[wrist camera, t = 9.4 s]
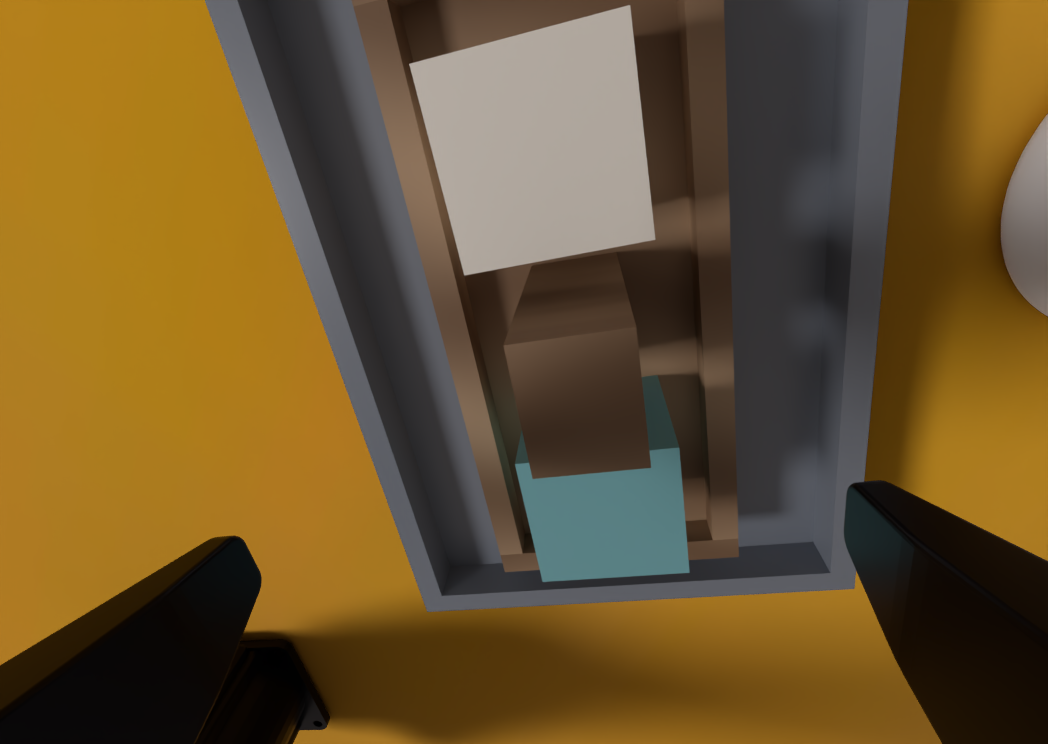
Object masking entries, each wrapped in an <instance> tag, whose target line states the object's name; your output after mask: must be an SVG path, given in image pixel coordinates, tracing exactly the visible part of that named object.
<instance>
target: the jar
mask: <svg viewBox="0 0 1048 744" xmlns="http://www.w3.org/2000/svg"><path fill="white" fill-rule="evenodd" d="M1001 247H1002V252H1003V257H1004V261H1005V265H1006V268H1007V270H1008V273H1009V275H1010V277H1011V279H1012V281H1013V283H1014V284H1015V286H1016V288H1017V289H1018V290H1019V292H1020V293H1021V294H1022V296H1023V297H1024V298H1025V299H1026V300H1027V301H1028V302H1029V303H1030V304H1031V305H1032V306H1034V307H1035V308H1036V309H1037V310H1039V311H1040V312H1041V313H1043V314H1045V315H1046V316H1048V114H1047V115H1046V117H1045V118H1044V119H1043V121H1042V122H1041V123H1040V125H1039V126H1038V128H1037V129H1036V131H1035V132H1034V134H1033V135H1032V137H1031V139H1030V140H1029V142H1028V144H1027V145H1026V147H1025V149H1024V150H1023V152H1022V154H1021V156H1020V158H1019V160H1018V163H1017V165H1016V167H1015V170H1014V172H1013V174H1012V177H1011V179H1010V182H1009V185H1008V188H1007V192H1006V196H1005V200H1004V205H1003V210H1002V216H1001Z"/></svg>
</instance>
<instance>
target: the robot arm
mask: <svg viewBox="0 0 1048 744" xmlns="http://www.w3.org/2000/svg"><path fill="white" fill-rule="evenodd" d="M844 540H845V544H846V547H847V550H848V553H849V555H850V557H851V560H852V562H853V564H854V566H855V569H856V571H857V573H858V576H859V578H860V580H861V582H862V585H863V587H864V589H865V592H866V594H867V596H868V598H869V601H870V603H871V605H872V608H873V610H874V612H875V615H876V617H877V619H878V621H879V624H880V626H881V628H882V631H883V633H884V635H885V637H886V640H887V642H888V644H889V646H890V649H891V651H892V653H893V655H894V657H895V659H896V661H897V663H898V665H899V667H900V669H901V671H902V673H903V675H904V677H905V678H906V680H907V682H908V684H909V686H910V688H911V689H912V691H913V693H914V695H915V696H916V698H917V700H918V702H919V703H920V705H921V707H922V709H923V711H924V712H925V714H926V716H927V718H928V719H929V721H930V723H931V725H932V726H933V728H934V730H935V732H936V733H937V735H938V737H939V739H940V741H941V742H942V744H1048V561H1046V560H1044V559H1042V558H1040V557H1038V556H1036V555H1034V554H1032V553H1030V552H1028V551H1026V550H1024V549H1022V548H1020V547H1018V546H1016V545H1014V544H1012V543H1010V542H1008V541H1006V540H1004V539H1002V538H1000V537H998V536H996V535H994V534H992V533H990V532H988V531H986V530H984V529H982V528H980V527H978V526H976V525H974V524H972V523H970V522H968V521H966V520H964V519H962V518H960V517H958V516H956V515H954V514H952V513H950V512H948V511H946V510H944V509H942V508H940V507H937V506H935V505H933V504H931V503H929V502H927V501H925V500H923V499H921V498H919V497H917V496H915V495H913V494H911V493H909V492H907V491H905V490H903V489H901V488H899V487H897V486H895V485H893V484H891V483H889V482H886V481H867V482H856V483H853V484H851V485H850V486H849V487H848V489H847V494H846V506H845V519H844ZM260 588H261V573H260V571H259V569H258V567H257V565H256V563H255V561H254V559H253V557H252V555H251V553H250V551H249V549H248V547H247V545H246V543H245V542H244V540H243V539H241V538H240V537H238V536H224V537H215V538H212V539H209V540H208V541H206V542H204V543H203V544H201V545H199V546H198V547H196V548H194V549H193V550H191V551H189V552H188V553H186V554H184V555H183V556H181V557H179V558H178V559H176V560H174V561H173V562H171V563H169V564H168V565H166V566H164V567H163V568H161V569H159V570H158V571H156V572H154V573H153V574H151V575H149V576H148V577H146V578H144V579H143V580H141V581H139V582H138V583H136V584H134V585H133V586H131V587H130V588H128V589H126V590H125V591H123V592H121V593H120V594H118V595H116V596H115V597H113V598H111V599H110V600H108V601H106V602H105V603H103V604H101V605H100V606H98V607H96V608H95V609H93V610H91V611H90V612H88V613H86V614H85V615H83V616H81V617H80V618H78V619H76V620H75V621H73V622H71V623H70V624H68V625H66V626H65V627H63V628H61V629H60V630H58V631H56V632H55V633H53V634H51V635H50V636H48V637H47V638H45V639H43V640H42V641H40V642H38V643H37V644H35V645H33V646H32V647H30V648H28V649H27V650H25V651H23V652H22V653H20V654H18V655H17V656H15V657H13V658H12V659H10V660H8V661H7V662H5V663H3V664H2V665H0V744H293V742H294V740H295V738H296V736H297V734H298V732H299V730H322V729H325V728H326V727H327V725H328V722H329V720H330V716H329V714H328V712H327V710H326V708H325V707H324V705H323V703H322V701H321V699H320V697H319V695H318V693H317V691H316V690H315V688H314V686H313V684H312V682H311V680H310V678H309V676H308V674H307V672H306V671H305V669H304V667H303V665H302V663H301V661H300V659H299V657H298V655H297V654H296V652H295V650H294V648H293V646H292V645H291V644H290V643H289V642H287V641H285V640H262V641H240V640H241V638H242V635H243V633H244V630H245V627H246V625H247V622H248V620H249V617H250V615H251V612H252V609H253V607H254V604H255V602H256V599H257V596H258V594H259V591H260Z"/></svg>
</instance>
